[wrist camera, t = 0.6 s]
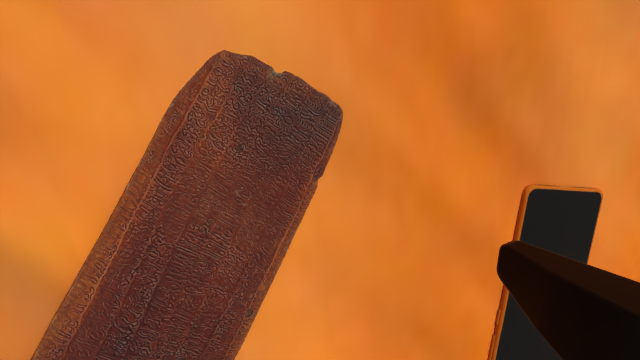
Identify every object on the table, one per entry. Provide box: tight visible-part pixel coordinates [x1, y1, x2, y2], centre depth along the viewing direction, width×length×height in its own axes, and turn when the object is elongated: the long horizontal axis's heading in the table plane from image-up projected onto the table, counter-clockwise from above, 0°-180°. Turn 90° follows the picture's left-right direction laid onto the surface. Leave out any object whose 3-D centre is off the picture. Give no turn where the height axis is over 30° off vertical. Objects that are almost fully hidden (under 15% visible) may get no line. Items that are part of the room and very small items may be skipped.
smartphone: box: [488, 185, 603, 360], centre depth 33 cm, size 8×17×1 cm, turn 173°
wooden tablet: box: [32, 50, 343, 360], centre depth 24 cm, size 27×10×2 cm, turn 149°
